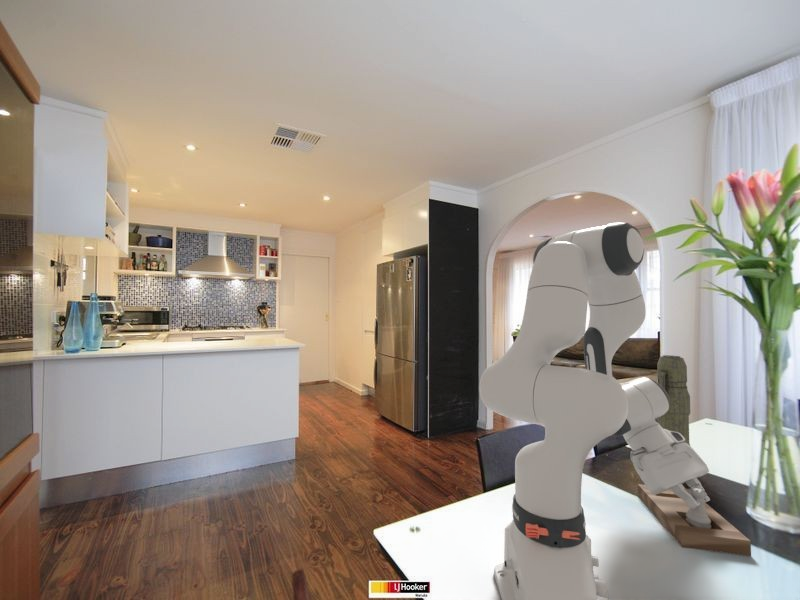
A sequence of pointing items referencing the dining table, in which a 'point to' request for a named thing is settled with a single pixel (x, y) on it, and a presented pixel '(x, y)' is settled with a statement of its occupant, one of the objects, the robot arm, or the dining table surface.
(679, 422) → the thermos
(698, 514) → the rook chess piece
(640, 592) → the dining table surface
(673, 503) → the block
